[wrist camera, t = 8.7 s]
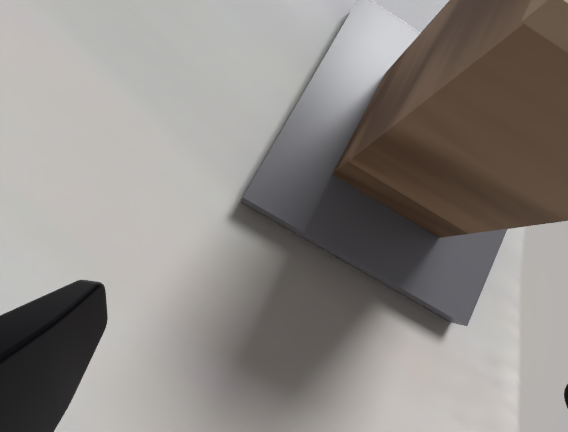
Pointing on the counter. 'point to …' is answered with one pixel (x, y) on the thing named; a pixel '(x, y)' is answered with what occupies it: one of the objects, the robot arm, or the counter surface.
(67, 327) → the robot arm
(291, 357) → the counter surface
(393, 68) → the tan square box
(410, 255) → the flat gray plate
